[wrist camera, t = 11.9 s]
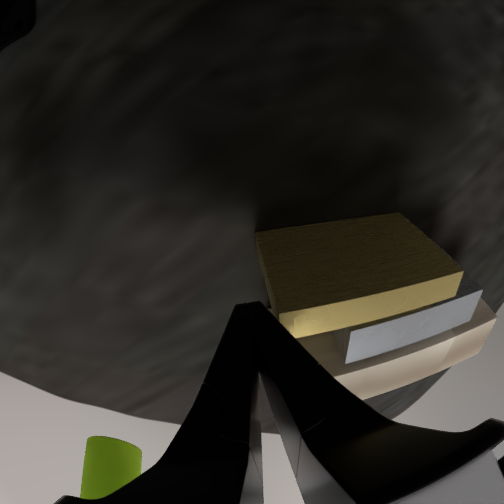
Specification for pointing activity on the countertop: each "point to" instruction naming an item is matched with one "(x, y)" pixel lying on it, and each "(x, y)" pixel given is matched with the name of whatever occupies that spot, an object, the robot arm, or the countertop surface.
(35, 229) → the countertop surface
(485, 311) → the block
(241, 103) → the countertop surface
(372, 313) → the block
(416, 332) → the grey block with shaft
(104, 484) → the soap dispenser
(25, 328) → the countertop surface
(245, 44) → the countertop surface
